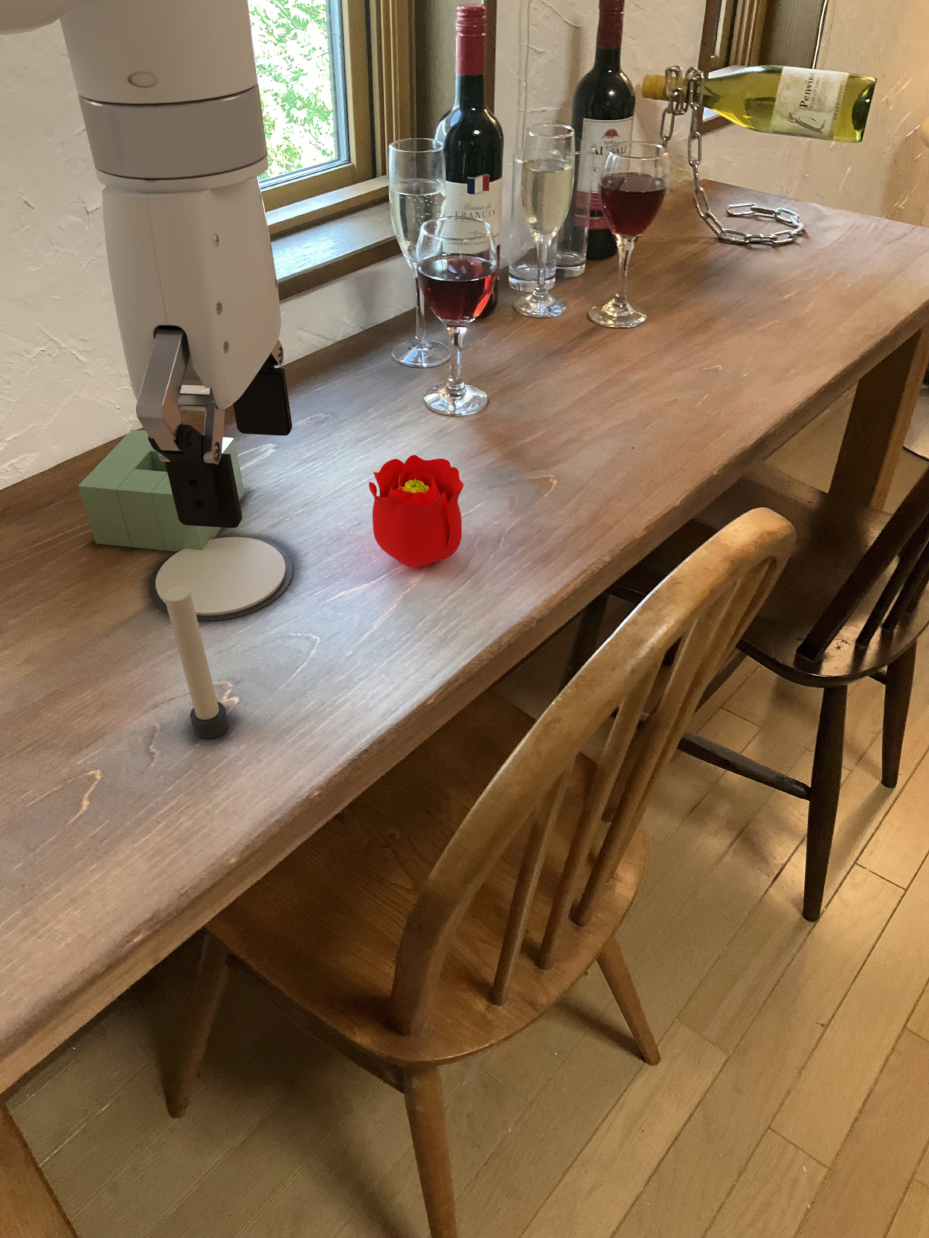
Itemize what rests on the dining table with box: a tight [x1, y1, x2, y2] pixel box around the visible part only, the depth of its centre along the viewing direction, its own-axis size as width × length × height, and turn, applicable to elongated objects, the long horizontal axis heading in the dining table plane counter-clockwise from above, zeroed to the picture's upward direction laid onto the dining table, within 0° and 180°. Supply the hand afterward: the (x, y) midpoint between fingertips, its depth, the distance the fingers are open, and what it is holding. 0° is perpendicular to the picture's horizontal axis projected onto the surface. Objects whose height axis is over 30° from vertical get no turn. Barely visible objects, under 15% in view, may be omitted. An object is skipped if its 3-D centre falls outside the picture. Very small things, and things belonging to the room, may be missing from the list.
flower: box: [368, 454, 465, 568], centre depth 81 cm, size 8×8×8 cm
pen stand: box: [77, 429, 246, 553], centre depth 87 cm, size 10×10×6 cm
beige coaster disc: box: [148, 535, 294, 623], centre depth 81 cm, size 12×12×1 cm
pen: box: [164, 586, 230, 741], centre depth 64 cm, size 2×2×12 cm
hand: (240, 475), depth 53 cm, fingers open, 9 cm apart
